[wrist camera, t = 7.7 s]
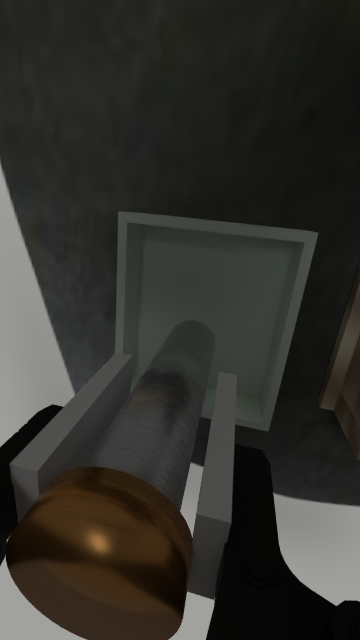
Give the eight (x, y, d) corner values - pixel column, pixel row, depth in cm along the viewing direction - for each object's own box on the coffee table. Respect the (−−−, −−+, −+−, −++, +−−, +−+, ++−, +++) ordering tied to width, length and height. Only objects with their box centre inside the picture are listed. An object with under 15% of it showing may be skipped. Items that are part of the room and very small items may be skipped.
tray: (139, 212, 22) (118, 211, 18) (305, 230, 20) (318, 232, 17) (131, 374, 27) (114, 398, 23) (265, 400, 25) (268, 431, 21)
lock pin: (163, 307, 18) (-5, 493, 6) (228, 318, 17) (194, 550, 5) (158, 365, 19) (14, 613, 7) (218, 376, 19) (173, 670, 7)
